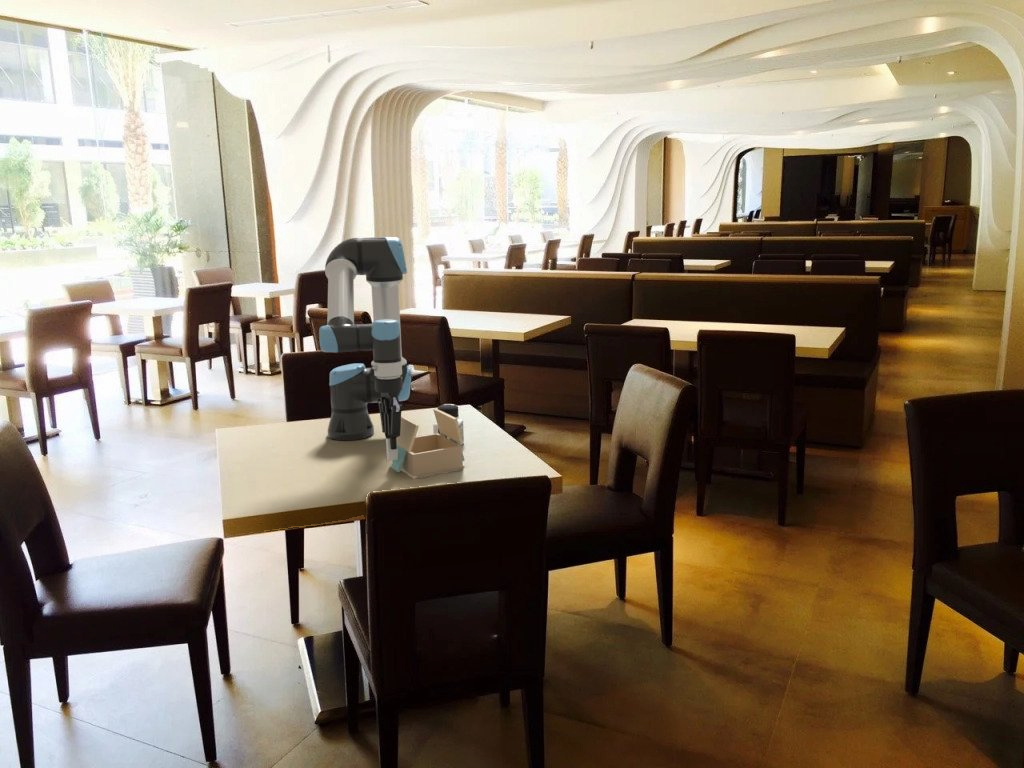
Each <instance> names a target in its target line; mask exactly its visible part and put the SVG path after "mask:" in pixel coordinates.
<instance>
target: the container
mask: <svg viewBox="0 0 1024 768" xmlns="http://www.w3.org/2000/svg"><path fill="white" fill-rule="evenodd" d="M436 409H438V410H440V411H442V412H445V413H447V414H449V415H451V416H453V417H455V418H457V422H458V425H459V429H460V433H461V436H462V440H463V443H460V445H461V446H462V445H463V444H464V443H465V437H464V436H465V435H464V419H462V418H461V419H459V406H458V405H456V404H452V403H445V404H440V405H438V407H437V408H436ZM432 427H433V434H436V433H438V434H440V435H442V436H444V437H446V438H448V439H450V438H449V437H448V436H446V435H444V434H442V433H440V431H439V428H438V424H437V421H436V422H435V423H434V424H433V425H432Z"/></svg>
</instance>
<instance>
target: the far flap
mask: <svg viewBox="0 0 1024 768" xmlns="http://www.w3.org/2000/svg"><path fill="white" fill-rule="evenodd" d="M432 410H433V413H434V417H435V421H436V422H437V424H438V428H439V431H440V433H442V434H444V435H446V436H448V437H449V438H450V440H451V441H453V442H455V443H457V444H459V445H460V443H463V440H462V436H461V433H460V429H459V425H458V422H457V418H455V417H453V416H451V415H449V414H447V413H445V412H442V411H440V410H438V409H437V408H433V409H432ZM463 444H464V443H463ZM462 457H463V462H464V461H465V457H464V454H463V451H462Z"/></svg>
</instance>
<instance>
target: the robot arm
mask: <svg viewBox="0 0 1024 768" xmlns="http://www.w3.org/2000/svg"><path fill="white" fill-rule="evenodd" d="M403 247H404V246H403V242H402V240H401V238H399V237H395V236H374V237H351V238H348V239H345V240H343V241H341V242H340V243H339V244H337V245H336V246H335V247H334V248H333V249H332V250H331V252H330V253H329V255H328V256H327V258H326V261H325V265H324V273H325V276H326V278H327V281H328V283H327V320H326V322H327V324H325V325H321V326H320V327H319V328H318V329H319V330H318V331H319V332H318V336H319V337H318V338H319V346H320V347H319V348H320V350H321V351H322V352H323V353H335V354H337V353H346V352H370V351H372V354H373V360H372V361H371V364H370V367H366V365H365V364H364V363H361V362H360V363H349V364H345V365H341V366H340V365H339V366H337V367H335V368H333V369H332V370H331V371H330V372H329V383H328V385H329V392H330V405H331V416H330V420H329V424H328V426H327V427H328V428H327V437H328V439H331V440H336V441H355V440H361V439H362V440H363V439H366V438H369V437H372V436H373V435H374V434H375V426H374V424H373V421H372V419H371V416H370V414H369V412H368V404H373V403H374V404H375V403H377V405H378V410H379V416H380V424H381V429H382V430H381V431H382V433H383V434H384V437H385V447H386V461H388V462H390V461H391V462H392V460H398V448H397V437H399V436H400V429H401V416H402V411H403V405H402V404H399V403H400V402H403V401H407V400H408V399H409V397H410V393H411V387H412V386H411V385H412V365H408V363H407V361H408V360H407V359H406V358H405V357H403V353H402V352H403V349H402V331H401V314H400V313H401V311H400V310H401V309H400V294H399V293H400V290H399V285H400V283H401V282H402V281H403V278H404V275H405V274H407V273H408V269H407V263H406V258H405V253H404V249H403ZM357 276H365V280H366V282H367V283H368V284H369V285H370V286H371V299H372V300H371V301H372V303H371V304H372V319H373V321H372V323H365V324H364V323H363V324H362V323H361V324H358V323H356V324H355V303H354V302H355V300H354V299H355V295H354V294H355V290H354V288H355V286H354V285H355V284H354V282H355V281H354V280H355V279H356V277H357Z"/></svg>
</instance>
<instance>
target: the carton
mask: <svg viewBox="0 0 1024 768" xmlns="http://www.w3.org/2000/svg"><path fill="white" fill-rule="evenodd" d="M397 446H398V445H397ZM462 452H463V446H462V445H459V444H457V443H455V442H453V441H451V440H450V439H448V438H446V437H444V436H442V435H440V434H438V433H436V434H434V433H431V434H425V435H419V436H416V437H415V440H414V443H413V447H412V450H411V452H408V451H406V455H405V458H404V461H403V464H402V467H401V472H403V473H404V474H406V475H407V476H409V477H410V478H412V479H413V480H417V479H422V478H428V477H433V476H438V475H442V474H449V473H453V472H458V471H463V470H464V461H463V457H462ZM392 462H393V460H392V461H391V463H392Z"/></svg>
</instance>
